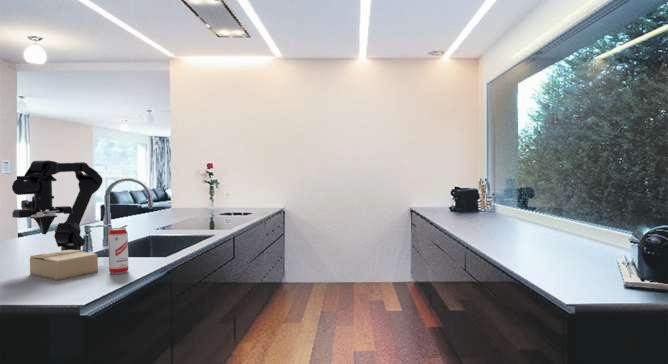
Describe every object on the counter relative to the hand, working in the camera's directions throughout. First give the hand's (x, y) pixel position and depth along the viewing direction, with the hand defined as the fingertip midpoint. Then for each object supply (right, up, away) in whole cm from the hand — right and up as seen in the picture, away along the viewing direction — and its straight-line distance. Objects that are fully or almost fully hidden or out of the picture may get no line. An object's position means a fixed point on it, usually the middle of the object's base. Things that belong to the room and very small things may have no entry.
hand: (44, 234), depth 165 cm
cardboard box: (+13, -13, -8) cm, 20 cm away
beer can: (+32, -13, -8) cm, 36 cm away
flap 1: (+9, -7, -6) cm, 13 cm away
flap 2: (+16, -7, -10) cm, 21 cm away
